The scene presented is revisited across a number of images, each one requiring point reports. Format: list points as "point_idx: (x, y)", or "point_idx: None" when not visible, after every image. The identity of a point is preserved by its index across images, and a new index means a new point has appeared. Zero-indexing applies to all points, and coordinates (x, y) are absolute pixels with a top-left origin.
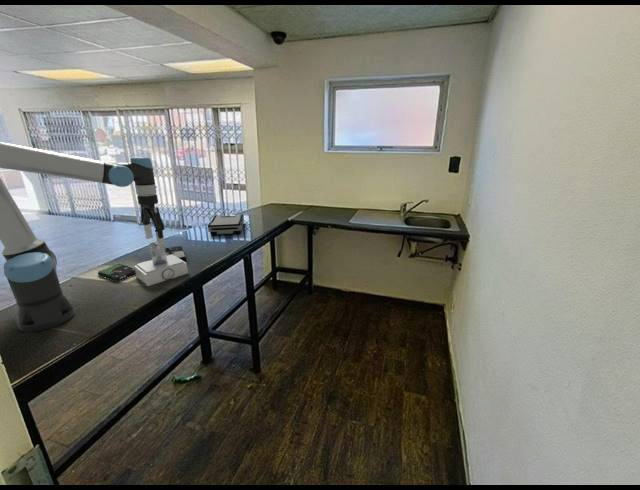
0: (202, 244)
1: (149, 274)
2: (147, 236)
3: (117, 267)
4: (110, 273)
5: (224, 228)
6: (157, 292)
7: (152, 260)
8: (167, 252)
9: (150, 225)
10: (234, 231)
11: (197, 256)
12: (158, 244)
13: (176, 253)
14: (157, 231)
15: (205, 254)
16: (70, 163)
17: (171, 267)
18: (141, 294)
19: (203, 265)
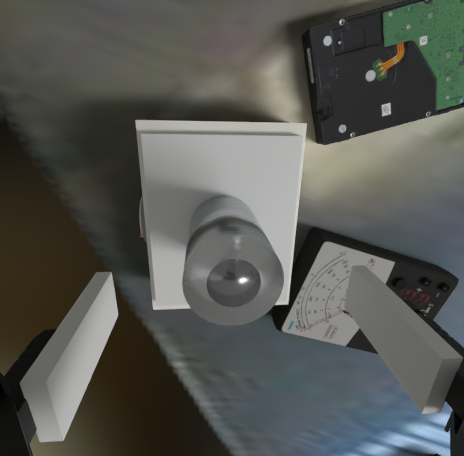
0: (386, 409)
1: (137, 140)
2: (361, 284)
3: (431, 82)
4: (389, 27)
5: None
6: (53, 126)
7: (224, 201)
8: None
9: (413, 398)
10: None
11: (292, 359)
12: (91, 280)
13: (341, 320)
14: (27, 393)
15: (287, 383)
16: None
17: (148, 246)
18: (78, 66)
19: (192, 343)
